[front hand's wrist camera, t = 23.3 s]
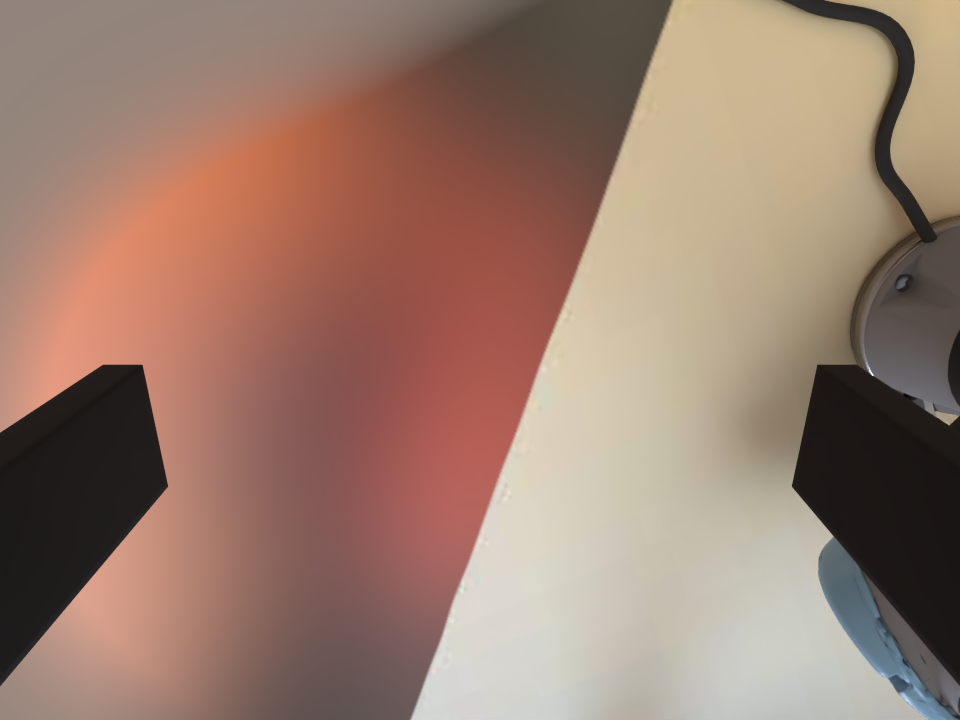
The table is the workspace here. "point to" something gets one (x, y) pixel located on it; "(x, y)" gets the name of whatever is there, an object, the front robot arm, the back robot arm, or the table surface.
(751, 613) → the table surface
